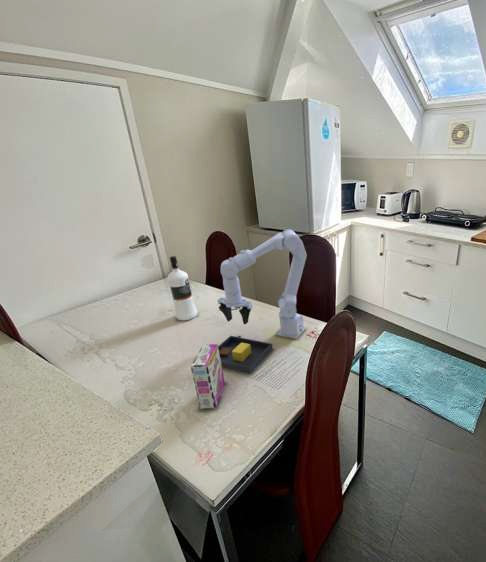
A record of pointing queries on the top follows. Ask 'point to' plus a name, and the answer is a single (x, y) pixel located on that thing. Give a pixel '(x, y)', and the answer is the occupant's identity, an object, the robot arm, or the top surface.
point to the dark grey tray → (251, 361)
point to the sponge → (241, 352)
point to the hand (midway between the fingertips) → (237, 321)
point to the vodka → (181, 292)
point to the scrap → (225, 352)
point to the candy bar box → (208, 376)
